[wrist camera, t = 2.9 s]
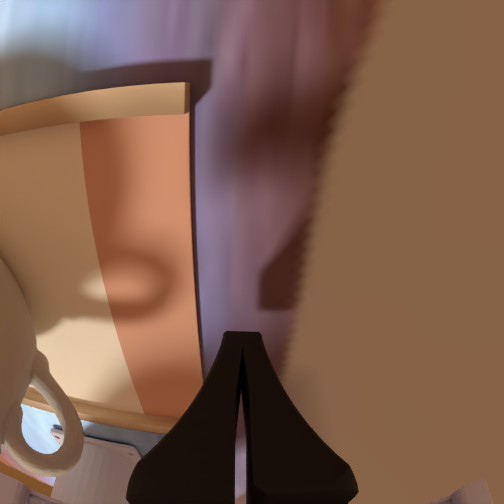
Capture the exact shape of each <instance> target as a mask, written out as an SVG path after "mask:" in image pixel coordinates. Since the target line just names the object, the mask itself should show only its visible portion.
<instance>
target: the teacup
mask: <svg viewBox="0 0 504 504" xmlns="http://www.w3.org/2000/svg"><path fill="white" fill-rule="evenodd" d="M29 385H32V386H34V387H35V388H36V389H37V390H38V392H39V393H40V394H41V395H42V396H43V397H44V399H45V400H46V401H47V402H48V404H49V405H50V406H51V407H52V409H53V411H54V412H55V414H56V416H57V418H58V419H59V422H60V424H61V426H62V429H63V433H64V441H63V444H62V446H61V447H60V448H59V450H58V451H56V452H54V453H52V454H42V453H39V452H37V451H35V450H33V449H32V448H31V447H30V446H29V445H28V444H27V443H26V441H25V439H24V437H23V435H22V428H21V424H22V416H23V412H22V408H21V406H20V405H21V403H22V401H23V398H24V396H25V394H26V392H27V389H28V387H29ZM2 443H3V444H4V445H5V446H6V448H7V449H8V451H9V453H10V454H11V455H12V457H13V458H14V459H15V460H16V461H17V462H18V463H19V464H20V465H21V466H23V467H24V468H25V469H27V470H28V471H30V472H32V473H35V474H38V475H40V476H47V477H56V476H60V475H63V474H65V473H67V472H69V471H70V470H72V469H73V468H74V467H75V465H76V464H77V463H78V462H79V460H80V458H81V455H82V451H83V446H84V432H83V427H82V423H81V421H80V418H79V416H78V413H77V411H76V409H75V407H74V405H73V404H72V402H71V401H70V399H69V398H68V397H67V395H66V394H65V392H64V391H63V389H62V388H61V387H60V386H59V384H58V383H57V382H56V380H55V379H54V378H53V376H52V375H51V373H50V371H49V362H48V360H47V357H46V356H45V355H44V354H43V353H42V352H40V351H39V350H38V349H37V340H36V335H35V330H34V324H33V321H32V318H31V315H30V312H29V309H28V307H27V304H26V301H25V299H24V296H23V294H22V291H21V289H20V287H19V285H18V283H17V281H16V279H15V277H14V275H13V274H12V272H11V270H10V269H9V267H8V266H7V264H6V263H5V262H4V261H3V259H2V258H1V257H0V454H1V444H2Z"/></svg>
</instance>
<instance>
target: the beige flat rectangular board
mask: <svg viewBox="0 0 504 504" xmlns="http://www.w3.org/2000/svg"><path fill="white" fill-rule="evenodd" d="M0 257H1V258H2V259H3V261H4V262H5V263H6V264H7V266H8V267H9V269H10V270H11V272H12V274H13V275H14V277H15V279H16V281H17V283H18V285H19V287H20V289H21V291H22V294H23V296H24V299H25V301H26V304H27V307H28V309H29V312H30V315H31V318H32V321H33V324H34V330H35V335H36V340H37V349H38V350H39V351H40V352H42V353H43V354H44V355H45V356H46V357H47V360H48V362H49V371H50V373H51V375H52V376H53V378H54V379H55V380H56V382H57V383H58V384H59V386H60V387H61V388H62V389H63V391H64V392H65V394H66V395H67V397H68V398H69V399H70V401H71V402H72V404H73V405H74V407H75V409H76V411H77V413H78V416H79V418H80V420H85V421H89V422H94V423H99V424H104V425H109V426H115V427H120V428H126V429H132V430H139V431H146V432H154V433H162V434H167V433H168V432H169V431H170V430H171V429H172V428H173V426H174V425H175V424H176V423H177V422H178V420H179V419H180V418H181V416H182V415H183V414H184V412H185V411H186V410H187V408H188V407H189V406H190V404H191V403H192V401H193V400H194V398H195V397H196V395H197V393H198V392H199V390H200V388H201V387H202V385H203V376H202V366H201V355H200V345H199V333H198V321H197V308H196V294H195V279H194V262H193V242H192V219H191V187H190V82H179V83H160V84H146V85H135V86H125V87H116V88H108V89H100V90H93V91H86V92H80V93H74V94H68V95H63V96H58V97H53V98H48V99H43V100H39V101H34V102H30V103H26V104H22V105H18V106H14V107H10V108H6V109H3V110H0ZM22 404H25V405H28V406H31V407H35V408H38V409H41V410H45V411H49V412H52V413H55V412H54V411H53V409H52V407H51V406H50V405H49V404H48V402H47V401H46V400H45V399H44V397H43V396H42V395H41V394H40V393H39V392H38V390H37V389H36V388H35V387H34V386H32V385H29V387H28V389H27V392H26V394H25V396H24V398H23V401H22Z"/></svg>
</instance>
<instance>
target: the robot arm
mask: <svg viewBox="0 0 504 504" xmlns="http://www.w3.org/2000/svg"><path fill="white" fill-rule="evenodd" d="M241 393H242V403H243V414H244V423H245V433H246V504H348V502H350V501H351V500H352V499H353V498H354V497H355V496H356V494H357V493H358V492H359V491H358V485H357V482H356V479H355V476H354V474H353V472H352V470H351V468H350V466H349V464H347V463H346V462H345V461H344V460H343V459H342V458H340V457H339V456H338V455H337V454H336V453H335V452H334V451H333V450H332V449H331V448H330V447H329V446H328V445H327V444H326V443H324V441H323V440H322V439H321V438H320V437H319V436H318V435H317V434H316V433H315V431H314V430H313V429H312V428H311V427H310V426H309V425H308V423H307V422H306V421H305V419H304V418H303V417H302V415H301V414H300V413H299V412H298V410H297V409H296V407H295V406H294V404H293V403H292V401H291V400H290V398H289V397H288V395H287V393H286V392H285V390H284V388H283V386H282V385H281V383H280V381H279V379H278V377H277V375H276V373H275V371H274V369H273V367H272V365H271V362H270V360H269V358H268V355H267V352H266V350H265V347H264V344H263V340H262V336H261V334H260V333H259V332H241V331H226V332H225V333H224V335H223V339H222V343H221V346H220V349H219V352H218V354H217V357H216V359H215V361H214V363H213V366H212V368H211V370H210V372H209V374H208V376H207V378H206V379H205V381H204V383H203V385H202V387H201V388H200V390H199V392H198V393H197V395H196V397H195V398H194V400H193V401H192V403H191V404H190V406H189V407H188V408H187V410H186V411H185V412H184V414H183V415H182V416H181V418H180V419H179V420H178V422H177V423H176V424H175V425H174V426H173V428H172V429H171V430H170V431H169V432H168V433H167V434H166V435H165V436H164V437H163V438H162V439H161V441H160V442H159V443H158V444H157V445H156V446H155V447H154V448H152V449H151V450H150V451H149V452H148V453H147V454H146V455H145V456H143V457H142V458H141V457H140V455H139V453H138V452H137V450H136V448H134V447H133V446H130V445H124V444H119V443H113V442H108V441H103V440H99V439H94V438H90V437H85V436H84V446H83V451H82V455H81V458H80V460H79V462H78V463H77V464H76V465H75V467H74V468H73V469H72V470H70V471H69V472H67V473H65V474H63V475H60V476H56V480H55V483H54V487H53V491H52V495H51V497H48V496H45V495H43V494H40V493H38V492H35V491H32V490H31V489H30V488H29V487H28V486H26V485H25V484H23V483H22V482H20V481H18V480H16V479H14V478H12V477H10V476H7V475H5V474H3V473H1V472H0V504H235V440H236V429H237V421H238V412H239V403H240V394H241ZM50 433H51V434H52V435H53V437H54V438H55V439H56V440H57V441H58V443H59V444H60V445H61V446H62V444H63V441H64V433H63V431H62V430H58V429H55V428H51V431H50ZM428 504H493V501H492V498H491V496H490V492H489V490H488V487H487V484H486V481H485V479H484V478H482V479H480V480H477V481H475V482H473V483H471V484H468V485H466V486H463V487H461V488H460V489H458V490H456V491H455V492H453V493H452V494H451V495H450V496H447V497H445V498H442V499H439V500H436V501H433V502H431V503H428Z"/></svg>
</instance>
